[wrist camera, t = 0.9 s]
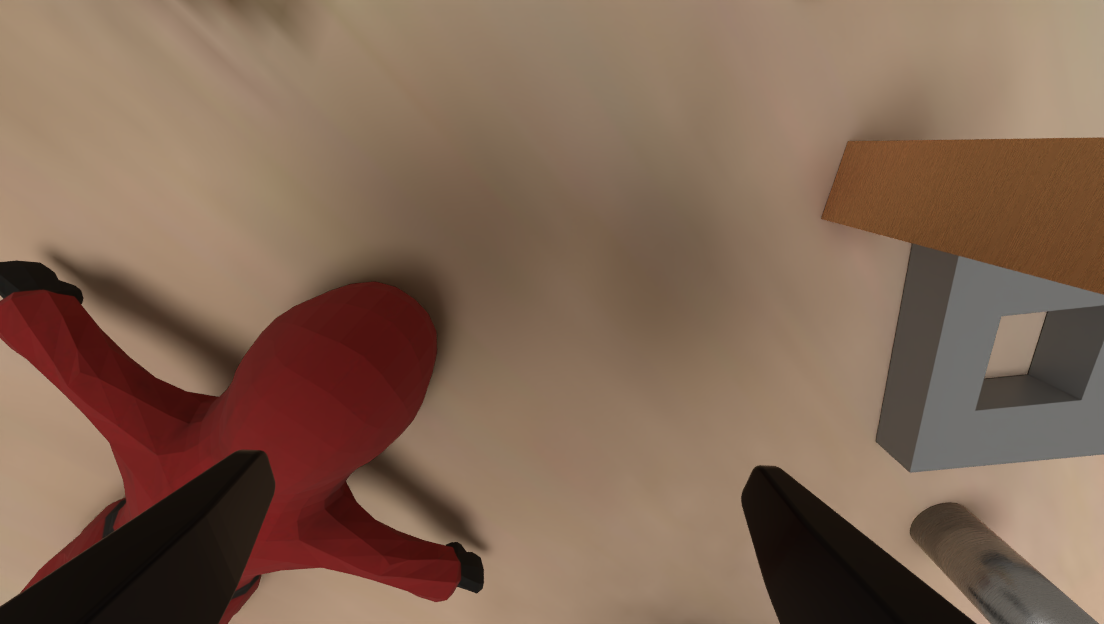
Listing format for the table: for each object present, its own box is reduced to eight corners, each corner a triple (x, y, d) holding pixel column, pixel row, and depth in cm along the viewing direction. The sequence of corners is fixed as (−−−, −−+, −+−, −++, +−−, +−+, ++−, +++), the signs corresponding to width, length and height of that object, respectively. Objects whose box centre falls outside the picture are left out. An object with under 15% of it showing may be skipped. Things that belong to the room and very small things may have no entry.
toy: (328, 673, 33) (620, 440, 25) (259, 838, 25) (651, 573, 17) (-70, 467, 26) (167, 54, 18) (-338, 607, 18) (-123, -14, 10)
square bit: (890, 227, 20) (1304, 327, 9) (821, 218, 20) (1157, 309, 9) (921, 151, 19) (1442, 160, 8) (848, 141, 19) (1274, 135, 8)
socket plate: (1056, 424, 24) (1110, 453, 22) (875, 441, 25) (909, 472, 22) (1134, 209, 20) (1211, 217, 18) (914, 234, 20) (961, 245, 18)
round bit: (963, 543, 28) (1090, 666, 21) (905, 548, 28) (1014, 672, 21) (976, 500, 26) (1116, 616, 20) (916, 505, 27) (1035, 623, 20)
